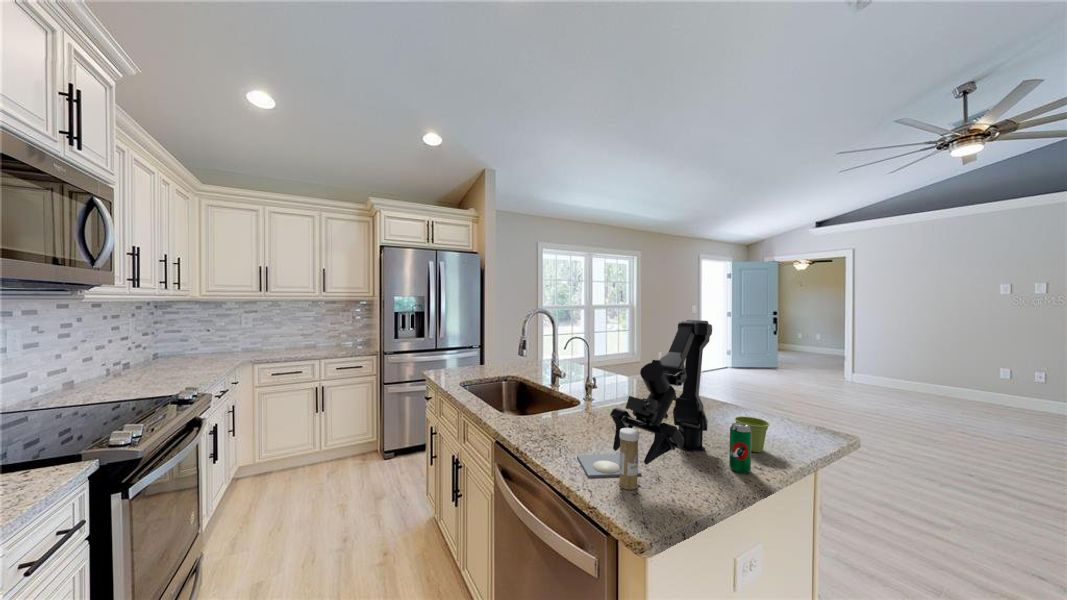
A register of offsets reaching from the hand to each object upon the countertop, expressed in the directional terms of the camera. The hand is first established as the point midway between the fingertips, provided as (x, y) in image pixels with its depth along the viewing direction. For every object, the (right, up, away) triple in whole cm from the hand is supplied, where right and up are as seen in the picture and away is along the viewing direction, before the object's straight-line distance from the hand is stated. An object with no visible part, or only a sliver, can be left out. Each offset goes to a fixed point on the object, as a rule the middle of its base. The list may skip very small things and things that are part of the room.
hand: (629, 456), depth 89 cm
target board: (-3, -7, +11) cm, 14 cm away
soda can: (+32, -8, +10) cm, 35 cm away
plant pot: (+44, -8, +25) cm, 51 cm away
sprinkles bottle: (0, -8, +1) cm, 8 cm away
